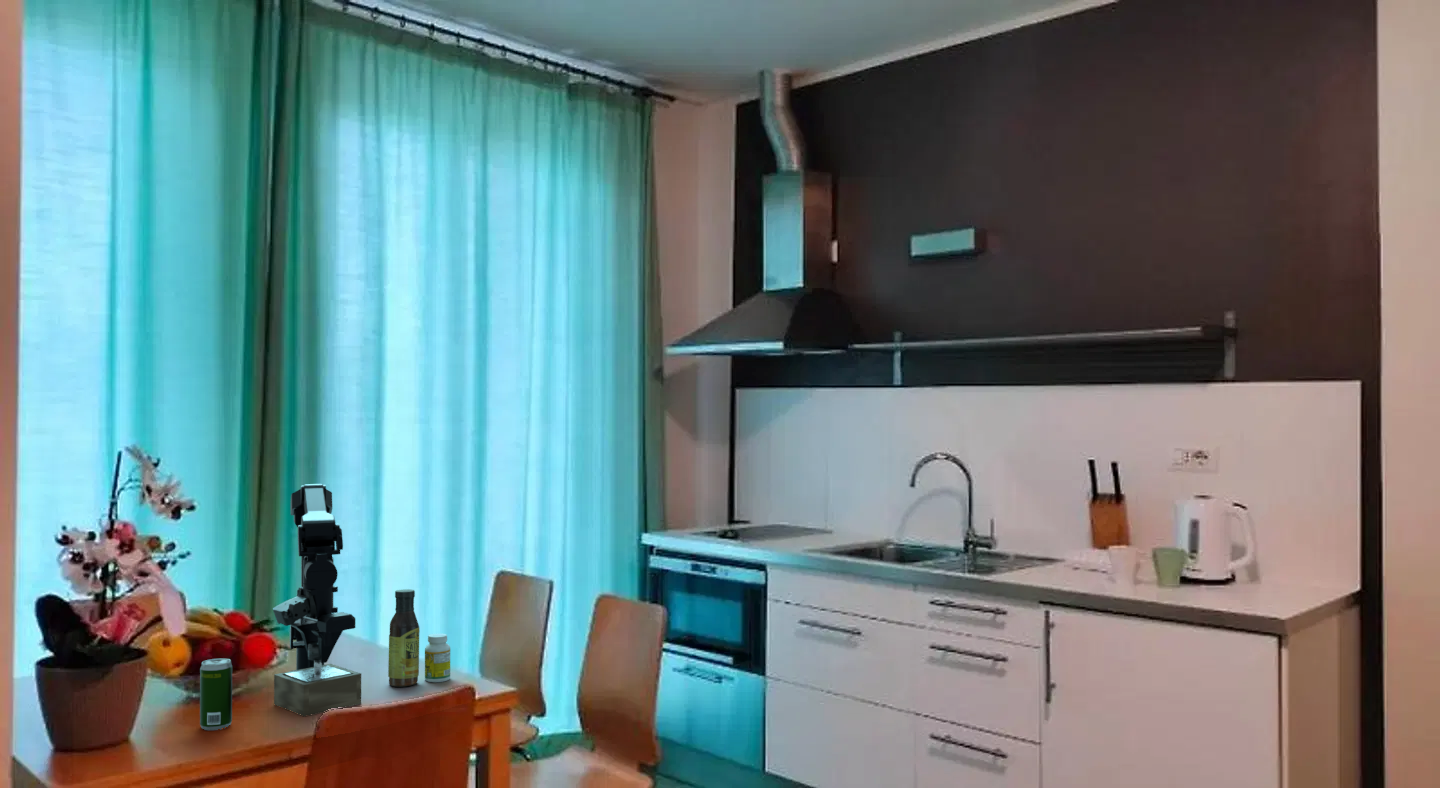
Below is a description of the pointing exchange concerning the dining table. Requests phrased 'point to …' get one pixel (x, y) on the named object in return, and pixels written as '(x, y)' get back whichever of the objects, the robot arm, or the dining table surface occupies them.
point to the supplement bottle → (437, 658)
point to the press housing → (317, 692)
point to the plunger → (316, 668)
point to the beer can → (215, 694)
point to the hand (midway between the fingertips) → (317, 660)
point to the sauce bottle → (404, 641)
